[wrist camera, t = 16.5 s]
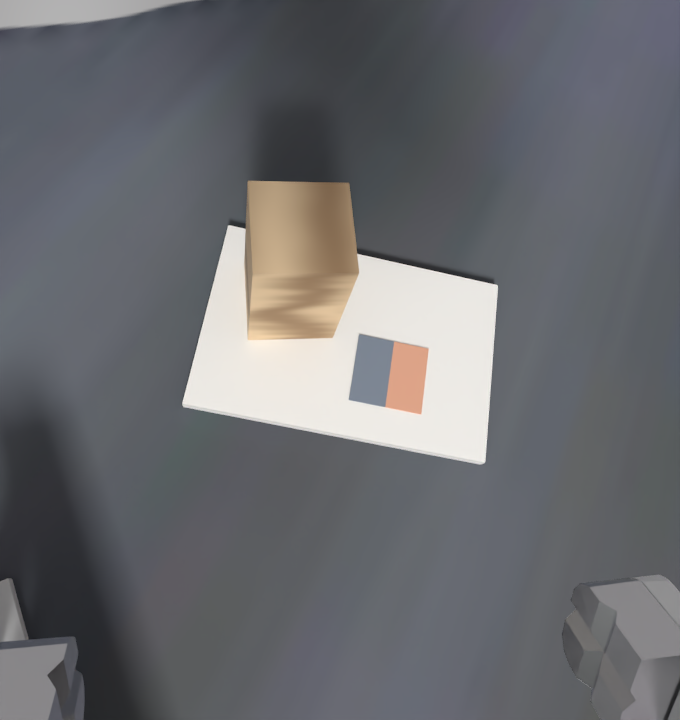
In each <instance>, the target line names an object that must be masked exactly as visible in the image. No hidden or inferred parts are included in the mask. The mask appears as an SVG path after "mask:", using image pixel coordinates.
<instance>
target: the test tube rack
mask: <svg viewBox="0 0 680 720" xmlns="http://www.w3.org/2000/svg"><path fill="white" fill-rule="evenodd" d="M18 640H29V638H28V635H27V631H26V627H25V624H24V620H23V617H22V613H21V609H20V606H19V602H18V598H17V595H16V591H15V587H14V584H13V580H12V579H9V578H7V579H5V580H2V581H0V642H5V641H18Z"/></svg>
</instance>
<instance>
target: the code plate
mask: <svg viewBox="0 0 680 720" xmlns="http://www.w3.org/2000/svg"><path fill="white" fill-rule="evenodd" d="M245 233H246V229H244V228H239V227H235V226H230V225H228V229H227V233H226V236H225V240H224V244H223V248H222V252H221V256H220V260H219V264H218V267H217V271H216V275H215V279H214V283H213V287H212V291H211V294H210V298H209V302H208V306H207V310H206V314H205V318H204V322H203V325H202V329H201V333H200V337H199V341H198V345H197V349H196V353H195V356H194V360H193V364H192V368H191V372H190V376H189V380H188V384H187V387H186V391H185V395H184V399H183V403H182V404H183V407H186V408H192V409H197V410H202V411H207V412H212V413H217V414H222V415H228V416H233V417H238V418H243V419H248V420H253V421H259V422H264V423H269V424H274V425H279V426H284V427H289V428H295V429H300V430H305V431H310V432H315V433H320V434H326V435H331V436H336V437H341V438H346V439H351V440H356V441H362V442H367V443H372V444H377V445H382V446H387V447H393V448H398V449H403V450H408V451H413V452H418V453H423V454H429V455H434V456H439V457H444V458H449V459H454V460H460V461H465V462H470V463H475V464H480V465H481V464H483V463H485V458H486V444H487V430H488V416H489V403H490V389H491V375H492V361H493V347H494V333H495V319H496V306H497V292H498V285H494V284H490V283H485V282H481V281H476V280H472V279H468V278H463V277H459V276H454V275H450V274H445V273H441V272H436V271H432V270H427V269H423V268H418V267H414V266H409V265H405V264H400V263H396V262H391V261H387V260H382V259H378V258H374V257H369V256H365V255H360V254H357V257H358V265H359V275H358V277H357V280H356V282H355V285H354V287H353V289H352V292H351V294H350V297H349V299H348V302H347V304H346V307H345V309H344V312H343V314H342V316H341V319H340V321H339V324H338V326H337V329H336V331H335V334H334V336H333V338H315V339H276V340H248V334H247V313H246V291H245V270H244V256H245Z"/></svg>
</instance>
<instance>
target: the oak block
mask: <svg viewBox="0 0 680 720" xmlns="http://www.w3.org/2000/svg"><path fill="white" fill-rule="evenodd" d="M244 270H245V291H246V313H247V334H248V340H276V339H315V338H333V336H334V334H335V331H336V329H337V326H338V324H339V321H340V319H341V316H342V314H343V312H344V309H345V307H346V304H347V302H348V299H349V297H350V294H351V292H352V289H353V287H354V285H355V282H356V280H357V277H358V275H359V265H358V257H357V248H356V239H355V230H354V221H353V213H352V204H351V195H350V186H349V183H331V182H280V181H248V188H247V211H246V233H245V256H244Z"/></svg>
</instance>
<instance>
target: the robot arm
mask: <svg viewBox="0 0 680 720" xmlns="http://www.w3.org/2000/svg"><path fill="white" fill-rule="evenodd" d="M571 602H572V603H573V605H574V606H575V608H576V609H575V610H574V611H573V612H572V613H571V614H570V615H569V616H568V617H567V618H566V619H565V623H564V627H563V632H562V639H563V647H564V652H565V655H566V658H567V661H568V663H569V665H570V667H571V669H572V671H573V672H574V674H575V676H576V678H578V679H579V680H581V681H582V682H584V683H585V684H586V685H588V686H589V687H591V688H592V691H591V701H590V702H591V704H592V705H593V707H594V709H595V710H596V712H597V714H598V715H599V717H600V719H601V720H680V592H679V591H678V590H677V589H676V587H675V586H674V585H673V584H672V583H671V582H670V581H669V580H668V579H667V578H665V577H663V576H662V575H652V576H643V577H634V578H622V579H614V580H605V581H596V582H588V583H580V584H579V585H578V586H577V587H576V588H575V589H574V591H573V594H572V597H571ZM77 658H78V648H77V644H76V639H75V637H72V636H70V637H57V638H44V639H31V640H18V641H5V642H0V720H83V717H84V705H85V695H84V682H83V676H82V674H81V673H80V672H79V671H77V670H76V669H75V667H76V663H77Z"/></svg>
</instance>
